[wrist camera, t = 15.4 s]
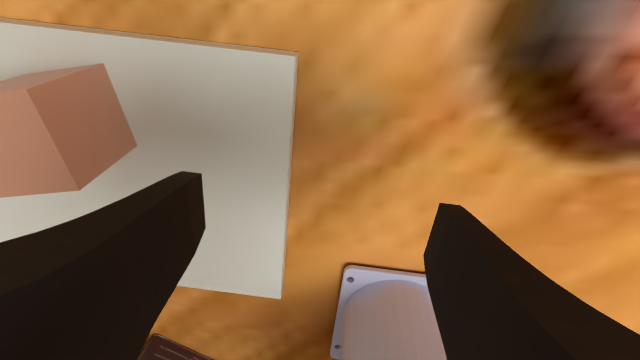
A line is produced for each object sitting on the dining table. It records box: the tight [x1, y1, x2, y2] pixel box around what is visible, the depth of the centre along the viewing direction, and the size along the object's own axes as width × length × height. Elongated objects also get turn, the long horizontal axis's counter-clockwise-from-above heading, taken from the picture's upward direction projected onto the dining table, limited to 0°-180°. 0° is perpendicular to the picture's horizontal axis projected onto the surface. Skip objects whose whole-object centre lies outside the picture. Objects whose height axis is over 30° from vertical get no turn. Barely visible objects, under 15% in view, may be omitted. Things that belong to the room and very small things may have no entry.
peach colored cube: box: [0, 63, 137, 198], centre depth 17 cm, size 4×4×5 cm
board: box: [0, 17, 299, 299], centre depth 20 cm, size 16×22×5 cm
